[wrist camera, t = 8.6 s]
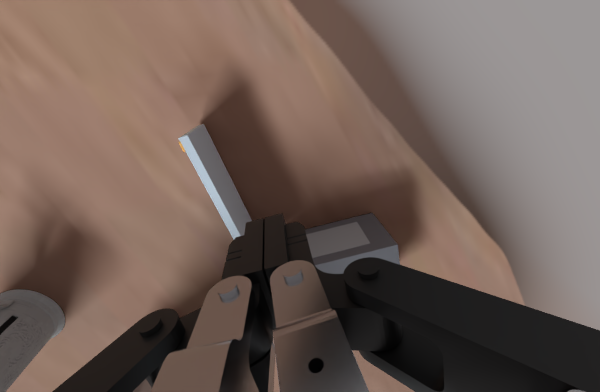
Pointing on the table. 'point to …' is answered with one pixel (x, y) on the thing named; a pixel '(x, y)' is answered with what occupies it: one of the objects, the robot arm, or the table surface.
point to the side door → (215, 179)
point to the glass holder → (25, 330)
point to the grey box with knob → (350, 243)
